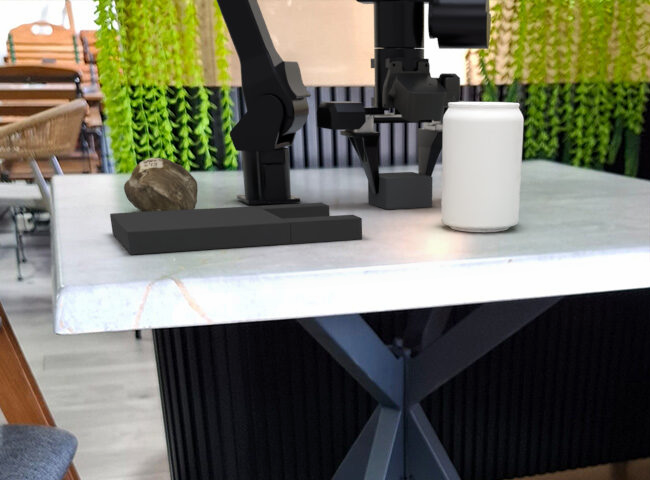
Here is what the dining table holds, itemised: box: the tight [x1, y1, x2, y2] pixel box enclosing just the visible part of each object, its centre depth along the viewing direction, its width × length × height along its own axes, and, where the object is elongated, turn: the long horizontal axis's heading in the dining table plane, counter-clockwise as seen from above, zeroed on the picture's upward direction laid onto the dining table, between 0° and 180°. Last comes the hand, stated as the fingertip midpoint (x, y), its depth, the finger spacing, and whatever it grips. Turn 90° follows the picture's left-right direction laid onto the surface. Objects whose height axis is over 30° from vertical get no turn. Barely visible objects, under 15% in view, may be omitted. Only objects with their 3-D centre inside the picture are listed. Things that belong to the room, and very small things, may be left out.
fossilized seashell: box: [123, 157, 199, 212], centre depth 100 cm, size 8×7×10 cm
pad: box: [367, 171, 433, 211], centre depth 109 cm, size 6×6×4 cm
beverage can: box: [440, 101, 525, 233], centre depth 92 cm, size 8×8×12 cm
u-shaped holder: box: [109, 202, 363, 256], centre depth 88 cm, size 12×22×2 cm, turn 114°
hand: (399, 192), depth 109 cm, fingers closed on pad, 6 cm apart
